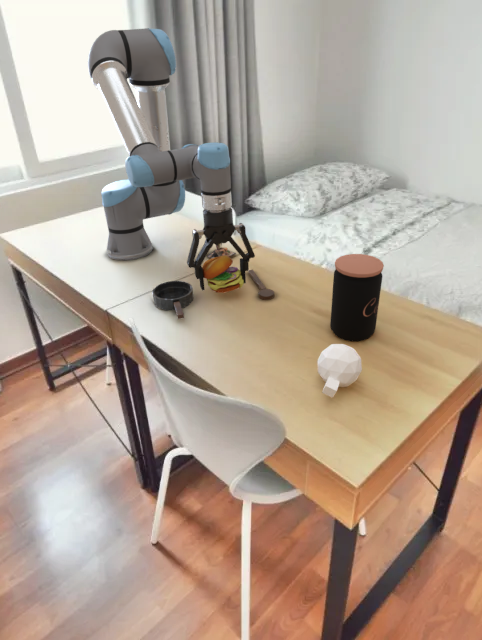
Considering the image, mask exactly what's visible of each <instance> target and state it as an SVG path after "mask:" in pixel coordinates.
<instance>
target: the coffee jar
mask: <svg viewBox="0 0 482 640" xmlns="http://www.w3.org/2000/svg"><path fill="white" fill-rule="evenodd" d="M384 267H385V265H384V262H383V261H382V260H381V259H380V258H377V257H375V256H373V255H371V254H370V255H369V254H364V253H350V254H344V255H341V256H339V257H337V258H336V259H335V261H334V268H335V270H334V272H333V280H332V281H333V282H332V294H331V295H332V296H331V309H330V321H329V322H330V323H329V325H330V326H329V327H330V330H331V331H332V334H334V336H335V337H337V338H338V339H340V340H343V341H346V342H351V343H352V342H354V343H358V342H364V341H366V340H368V339H370V338H371V337H372V336H373V335H374V333H375V332H376V327H377V320H378V313H379V306H380V305H379V304H380V297H381V290H382V282H383V273H382V272H383V270H384Z"/></svg>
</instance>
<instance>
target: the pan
mask: <svg viewBox="0 0 482 640" xmlns="http://www.w3.org/2000/svg"><path fill="white" fill-rule="evenodd" d="M151 293H152V300H153V304H154V305H155V307H156V308H158V309H160V310H162V311H163V310H164V311H175V308H174V304H173V302H178V301H179V302H180V305H181V308H182V309H185V308H187V307H188V306H190V305H191V304H192V303H193V302H194V299H195V296H194V295H195V294H194V287H193V285H192V284H191V283H190V282H187V281H183V280H171V281H166V282H162V283H160V284H158V285H156V286H155V287H153V289H152V292H151Z"/></svg>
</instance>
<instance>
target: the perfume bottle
mask: <svg viewBox="0 0 482 640" xmlns="http://www.w3.org/2000/svg"><path fill="white" fill-rule="evenodd" d="M317 358H318V359H317V361H316V363H317V374H318V375H319V376H320V377H321V378H322V380H323V382H325V384H324V386H323V388H322V391H321V393H322V394H323V395H326V396H327V397H330V398H334V396H335V395H336V393H337V391H338V389H339V388H347V387H349V386H351V385H353V383H355V382H356V381H357V380H358V378H359V376H360V374H361V373H362V371H363V366H362V357H361V355H360V354H358V352H357V351H356V349H355V348H354V347H351V346H349V345H347V344H345V343H331V344H330V345H328V346H327V347H325V349H323V350H322V351H321V352H320V354H319V356H318V357H317Z"/></svg>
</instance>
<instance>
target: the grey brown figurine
mask: <svg viewBox="0 0 482 640" xmlns="http://www.w3.org/2000/svg"><path fill="white" fill-rule="evenodd" d="M204 237H205V239H206V238H207V237H206V236H205V235H204ZM236 254H237V253H236V252H234V251H233V252H232V251H230V250H228V247H225V246H224V247H223V243H220V244H216V245H215V249H214V250H212V251H211V253H208V254H207V255H206V258H209V259H211V258H215V257H219V256H224V255H226V256H228V257H231V256H234V255H236Z"/></svg>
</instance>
